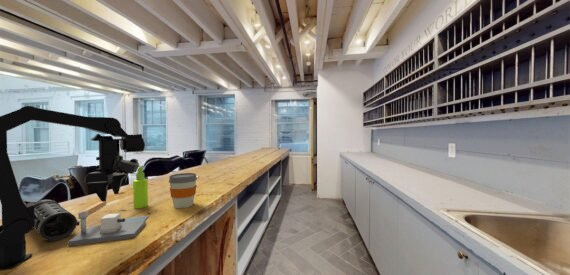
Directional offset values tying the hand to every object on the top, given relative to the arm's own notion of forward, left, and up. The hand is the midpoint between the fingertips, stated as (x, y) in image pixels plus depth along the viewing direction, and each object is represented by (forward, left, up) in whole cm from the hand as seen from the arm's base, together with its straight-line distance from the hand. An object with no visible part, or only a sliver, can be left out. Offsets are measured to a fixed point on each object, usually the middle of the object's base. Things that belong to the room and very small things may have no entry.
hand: (110, 197), depth 77 cm
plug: (0, 0, -13) cm, 13 cm away
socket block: (0, 0, -13) cm, 13 cm away
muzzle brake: (+15, +19, -9) cm, 26 cm away
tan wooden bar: (+6, +8, -6) cm, 12 cm away
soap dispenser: (+31, 0, -13) cm, 34 cm away
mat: (+11, -4, -13) cm, 17 cm away
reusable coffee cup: (+27, -20, -13) cm, 36 cm away
